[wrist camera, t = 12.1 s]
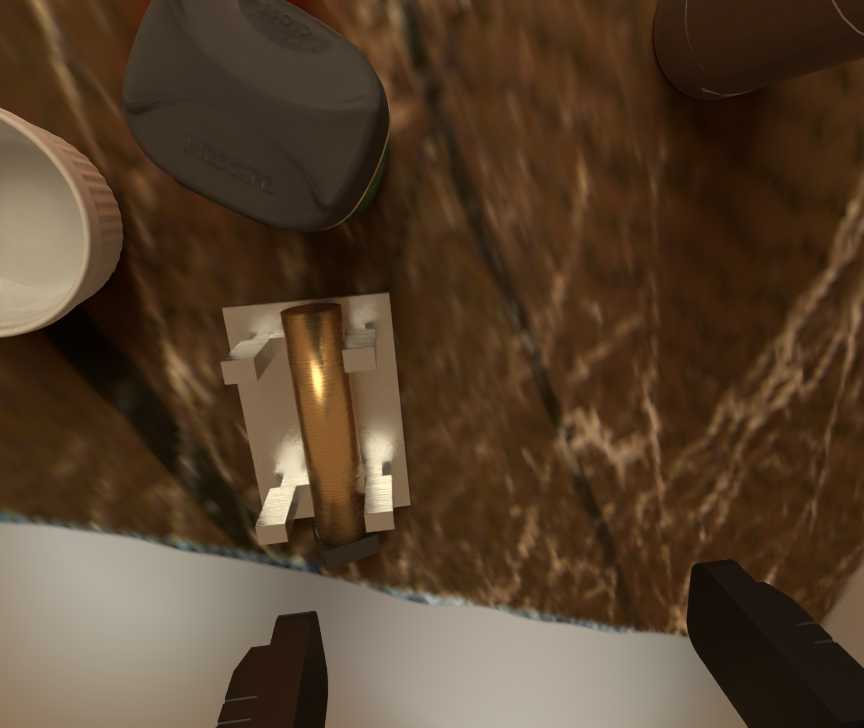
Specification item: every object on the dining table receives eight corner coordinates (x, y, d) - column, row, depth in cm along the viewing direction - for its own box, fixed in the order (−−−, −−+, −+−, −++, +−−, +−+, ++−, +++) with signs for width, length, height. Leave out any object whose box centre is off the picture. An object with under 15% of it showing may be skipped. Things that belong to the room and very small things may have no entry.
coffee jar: (404, 130, 36) (426, 62, 18) (357, 236, 37) (334, 270, 20) (269, 55, 34) (143, -104, 16) (226, 172, 35) (70, 146, 18)
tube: (275, 308, 36) (285, 319, 32) (333, 300, 37) (349, 309, 34) (314, 539, 41) (327, 570, 38) (364, 523, 43) (380, 552, 39)
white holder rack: (225, 305, 38) (191, 328, 31) (388, 291, 39) (390, 310, 32) (267, 516, 44) (247, 573, 37) (409, 500, 44) (414, 553, 38)
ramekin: (100, 95, 33) (31, 69, 27) (170, 294, 38) (125, 315, 31) (-107, 133, 33) (-230, 117, 26) (-14, 330, 37) (-100, 359, 31)
